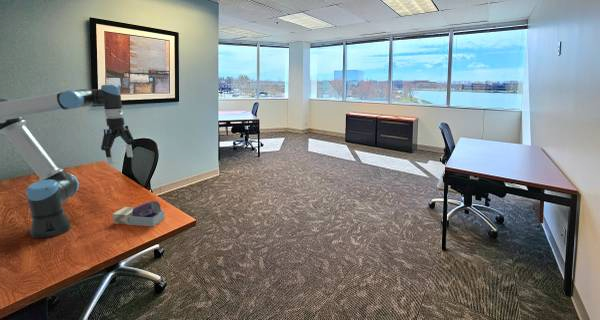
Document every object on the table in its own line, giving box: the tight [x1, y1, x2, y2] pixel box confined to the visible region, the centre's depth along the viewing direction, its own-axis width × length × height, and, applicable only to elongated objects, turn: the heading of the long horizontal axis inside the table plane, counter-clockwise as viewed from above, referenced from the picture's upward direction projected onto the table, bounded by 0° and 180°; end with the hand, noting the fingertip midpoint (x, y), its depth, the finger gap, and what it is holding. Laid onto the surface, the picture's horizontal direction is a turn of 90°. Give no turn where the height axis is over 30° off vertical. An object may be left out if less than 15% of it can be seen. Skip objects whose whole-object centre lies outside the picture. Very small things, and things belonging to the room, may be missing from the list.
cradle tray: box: [128, 209, 166, 227], centre depth 162 cm, size 13×10×4 cm
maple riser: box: [112, 206, 135, 225], centre depth 163 cm, size 8×9×5 cm
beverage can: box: [132, 200, 162, 217], centre depth 160 cm, size 7×7×12 cm
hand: (120, 160), depth 162 cm, fingers open, 13 cm apart
